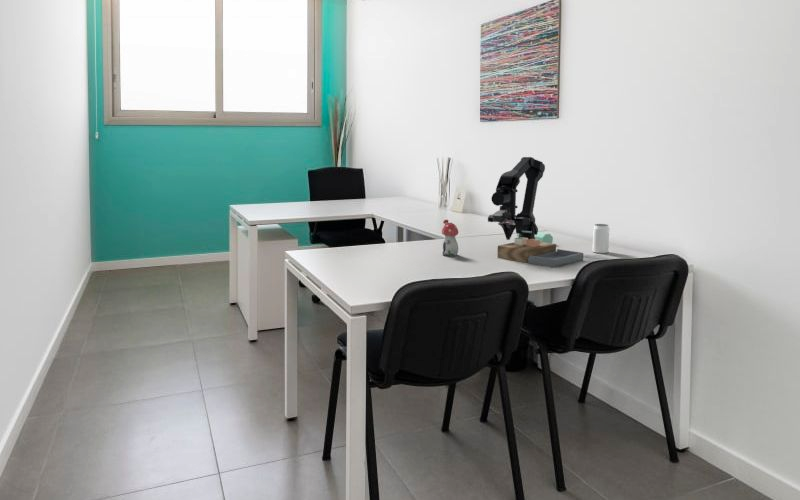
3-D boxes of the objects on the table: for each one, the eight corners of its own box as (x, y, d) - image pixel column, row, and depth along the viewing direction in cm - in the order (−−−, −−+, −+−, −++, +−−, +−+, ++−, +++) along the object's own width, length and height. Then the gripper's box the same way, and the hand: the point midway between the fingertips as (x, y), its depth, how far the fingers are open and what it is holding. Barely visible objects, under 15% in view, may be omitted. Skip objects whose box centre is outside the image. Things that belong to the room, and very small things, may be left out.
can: (609, 253, 260) (610, 226, 257) (593, 253, 261) (594, 225, 259) (607, 251, 266) (608, 223, 264) (591, 250, 267) (592, 223, 265)
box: (527, 262, 244) (527, 255, 243) (556, 255, 257) (556, 248, 256) (554, 267, 234) (554, 259, 234) (582, 260, 247) (583, 252, 247)
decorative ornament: (440, 253, 266) (440, 219, 263) (454, 252, 267) (454, 218, 264) (445, 257, 257) (445, 222, 254) (460, 256, 258) (460, 221, 255)
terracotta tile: (526, 245, 253) (526, 239, 252) (531, 244, 256) (532, 238, 255) (534, 246, 250) (534, 240, 250) (539, 245, 253) (540, 239, 252)
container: (516, 225, 304) (544, 231, 281) (526, 229, 306) (554, 235, 283) (512, 236, 304) (540, 243, 281) (522, 240, 306) (550, 247, 283)
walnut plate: (497, 257, 255) (497, 245, 254) (526, 251, 268) (526, 239, 267) (526, 262, 244) (527, 250, 243) (555, 255, 257) (556, 244, 256)
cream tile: (514, 244, 257) (514, 238, 257) (520, 242, 260) (520, 237, 260) (522, 245, 254) (522, 239, 254) (528, 244, 257) (528, 238, 257)
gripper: (479, 203, 261) (479, 239, 264) (514, 206, 247) (513, 244, 250) (496, 201, 268) (495, 236, 271) (531, 204, 254) (530, 241, 257)
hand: (508, 239), depth 262 cm, fingers closed
